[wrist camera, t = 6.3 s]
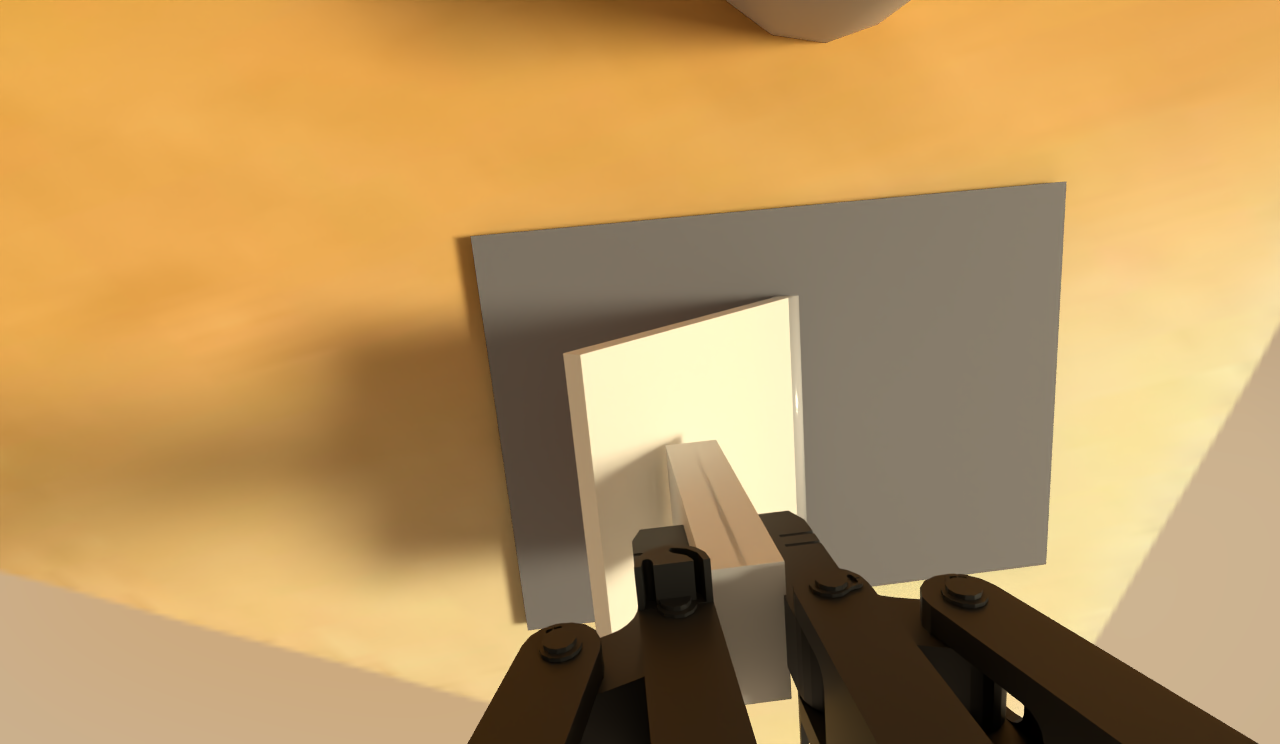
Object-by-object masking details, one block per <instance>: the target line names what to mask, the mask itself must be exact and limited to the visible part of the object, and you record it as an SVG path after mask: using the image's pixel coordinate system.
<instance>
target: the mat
mask: <svg viewBox="0 0 1280 744" xmlns="http://www.w3.org/2000/svg"><path fill="white" fill-rule="evenodd" d="M1065 198H1066V182H1056V183H1045V184H1035V185H1024V186H1013V187H1002V188H991V189H980V190H969V191H958V192H948V193H937V194H926V195H915V196H904V197H893V198H882V199H872V200H861V201H850V202H839V203H828V204H817V205H806V206H796V207H785V208H774V209H763V210H752V211H741V212H730V213H719V214H709V215H698V216H687V217H676V218H665V219H654V220H643V221H633V222H622V223H611V224H600V225H589V226H578V227H567V228H556V229H546V230H535V231H524V232H513V233H502V234H491V235H480V236H471V243H472V249H473V256H474V263H475V270H476V277H477V284H478V291H479V297H480V304H481V311H482V318H483V325H484V332H485V339H486V346H487V352H488V359H489V366H490V373H491V380H492V387H493V394H494V400H495V407H496V414H497V421H498V428H499V435H500V442H501V449H502V455H503V462H504V469H505V476H506V483H507V490H508V497H509V503H510V510H511V517H512V524H513V531H514V538H515V545H516V552H517V558H518V565H519V572H520V579H521V586H522V593H523V600H524V606H525V613H526V620H527V627H528V630H535V629H543V628H546V627H548V626H552V625H555V624H559V623H570V622H573V623H579V624H582V623H590V622H595V617H594V608H593V600H592V591H591V583H590V575H589V566H588V558H587V550H586V541H585V533H584V524H583V516H582V508H581V499H580V491H579V482H578V474H577V466H576V457H575V449H574V441H573V432H572V424H571V415H570V407H569V399H568V390H567V382H566V373H565V365H564V357H563V353H566V352H570V351H574V350H578V349H581V348H585V347H589V346H593V345H596V344H600V343H604V342H608V341H612V340H615V339H619V338H623V337H627V336H630V335H634V334H638V333H642V332H645V331H649V330H653V329H657V328H661V327H664V326H668V325H672V324H676V323H679V322H683V321H687V320H691V319H694V318H698V317H702V316H706V315H710V314H713V313H717V312H721V311H725V310H728V309H732V308H736V307H740V306H743V305H747V304H751V303H755V302H758V301H762V300H766V299H770V298H772V297H774V296H779V295H799V318H800V345H801V373H802V400H803V428H804V456H805V483H806V511H807V524H808V525H809V526H810V528H811V529H812V531H813V533H815V535H816V536H817V538H818V539H819V541H820V543H822V545H823V546H824V547H825V549H826V550H827V552H828V553H829V554H830V556H831V557H832V559H833V560H834V561H835V563H836V564H837V566H838V567H839V568H840V569H845V570H849V571H851V572H854V573H856V574H858V575H860V576H861V577H863V578H864V579H865V580H866V581H867V582H868V583H869V584H870V585H871V587H872V586H880V585H887V584H895V583H903V582H911V581H919V580H927V579H929V578H931V577H933V576H937V575H944V574H965V575H966V574H974V573H981V572H989V571H997V570H1005V569H1013V568H1021V567H1028V566H1036V565H1044V564H1046V554H1047V535H1048V517H1049V498H1050V479H1051V460H1052V442H1053V423H1054V404H1055V385H1056V367H1057V348H1058V329H1059V310H1060V292H1061V273H1062V254H1063V235H1064V217H1065Z"/></svg>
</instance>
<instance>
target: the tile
mask: <svg viewBox="0 0 1280 744" xmlns="http://www.w3.org/2000/svg"><path fill="white" fill-rule="evenodd" d="M563 357H564V365H565V373H566V382H567V390H568V399H569V407H570V415H571V424H572V432H573V441H574V449H575V457H576V466H577V474H578V482H579V491H580V499H581V508H582V516H583V524H584V533H585V541H586V550H587V558H588V566H589V575H590V583H591V591H592V600H593V608H594V617H595V625H596V632H597V633H598V635H599V637H600V638H601V637H603V636H606V635H609V634H611V633H614V632H616V631H618V630H620V629H621V628H623V627H624V626H626V625H627V624H628V623H629V622H630V621H631V620H632V619H633V618H634V616H635V615H636V613H637V609H638V603H637V594H636V584H635V575H634V558H633V548H632V541H633V539H634V538H635V536H636V535H637V533H638V532H639V530H641V529H649V528H658V527H666V526H673V522H672V511H671V500H670V489H669V478H668V468H667V457H666V446H665V445H674V444H682V443H691V442H700V441H709V440H717V442H718V444H719V446H720V447H721V449H722V451H723V453H724V455H725V456H726V458H727V460H728V462H729V463H730V465H731V467H732V469H733V471H734V472H735V474H736V476H737V478H738V479H739V481H740V483H741V485H742V487H743V488H744V490H745V492H746V494H747V495H748V497H749V499H750V501H751V503H752V504H753V506H754V508H755V510H756V512H757V513H758V514H763V513H772V512H780V511H790V512H792V513H794V514H796V515H797V516H799V517H801V518H803V519H805V521H806V522H807V511H806V483H805V456H804V428H803V400H802V373H801V345H800V318H799V295H779V296H774V297H772V298H770V299H766V300H762V301H758V302H755V303H751V304H747V305H743V306H740V307H736V308H732V309H728V310H725V311H721V312H717V313H713V314H710V315H706V316H702V317H698V318H694V319H691V320H687V321H683V322H679V323H676V324H672V325H668V326H664V327H661V328H657V329H653V330H649V331H645V332H642V333H638V334H634V335H630V336H627V337H623V338H619V339H615V340H612V341H608V342H604V343H600V344H596V345H593V346H589V347H585V348H581V349H578V350H574V351H570V352H566V353H563Z"/></svg>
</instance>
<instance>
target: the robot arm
mask: <svg viewBox="0 0 1280 744" xmlns="http://www.w3.org/2000/svg"><path fill="white" fill-rule="evenodd" d="M665 446H666V457H667V468H668V478H669V489H670V500H671V511H672V522H673V526H666V527H658V528H649V529H641V530H639V532H638V533H637V535H636V536H635V538H634V539H633V541H632V548H633V558H634V575H635V584H636V594H637V603H638V609H637V613H636V615H635V616H634V618H633V619H632V620H631V621H630V622H629V623H628V624H627V625H626V626H624V627H623V628H621V629H620V630H618V631H616V632H614V633H611V634H609V635H606V636H603V637H601V638H600V637H599V635H598V633H597V632H596V630H594V629H593V628H591V627H589V626H587V625H585V624H579V623H573V622H570V623H559V624H555V625H552V626H548V627H546V628H543V629H541V630H539V631H538V632H536V633H535V634H533V635H531V636H530V637H529V638H528V639H527V641H526V642H525V643H524V644H523V645H522V647H521V648H520V650H519V652H518V654H517V656H516V657H515V659H514V661H513V663H512V665H511V666H510V668H509V670H508V672H507V674H506V675H505V677H504V679H503V681H502V683H501V684H500V686H499V688H498V690H497V692H496V693H495V695H494V697H493V699H492V701H491V702H490V704H489V706H488V708H487V710H486V711H485V713H484V715H483V717H482V719H481V720H480V722H479V724H478V726H477V728H476V729H475V731H474V733H473V735H472V737H471V739H470V740H469V742H468V744H757V743H756V739H755V736H754V733H753V730H752V726H751V723H750V720H749V716H748V713H747V710H746V706H745V705H747V704H755V703H762V702H770V701H778V700H786V699H791V679H790V673H791V676H792V678H793V680H794V683H795V685H796V687H797V690H798V701H799V722H800V743H801V744H809V743H810V744H1258V743H1256V742H1255V741H1253V740H1251V739H1250V738H1248V737H1246V736H1245V735H1243V734H1241V733H1240V732H1238V731H1236V730H1235V729H1233V728H1231V727H1230V726H1228V725H1226V724H1225V723H1223V722H1221V721H1220V720H1218V719H1216V718H1215V717H1213V716H1211V715H1210V714H1208V713H1207V712H1205V711H1203V710H1202V709H1200V708H1198V707H1196V706H1195V705H1193V704H1192V703H1190V702H1188V701H1186V700H1185V699H1183V698H1181V697H1180V696H1178V695H1176V694H1175V693H1173V692H1171V691H1170V690H1168V689H1167V688H1165V687H1163V686H1162V685H1160V684H1158V683H1157V682H1155V681H1153V680H1152V679H1150V678H1148V677H1147V676H1145V675H1143V674H1142V673H1140V672H1138V671H1137V670H1135V669H1133V668H1132V667H1130V666H1129V665H1127V664H1125V663H1124V662H1122V661H1120V660H1119V659H1117V658H1115V657H1113V656H1112V655H1110V654H1109V653H1107V652H1105V651H1104V650H1102V649H1100V648H1099V647H1097V646H1095V645H1094V644H1092V643H1090V642H1089V641H1087V640H1085V639H1084V638H1082V637H1080V636H1079V635H1077V634H1075V633H1074V632H1072V631H1070V630H1069V629H1067V628H1065V627H1064V626H1062V625H1060V624H1059V623H1057V622H1055V621H1054V620H1052V619H1050V618H1049V617H1047V616H1045V615H1044V614H1042V613H1041V612H1039V611H1037V610H1036V609H1034V608H1032V607H1031V606H1029V605H1027V604H1026V603H1024V602H1022V601H1021V600H1019V599H1017V598H1016V597H1014V596H1012V595H1011V594H1009V593H1007V592H1006V591H1004V590H1002V589H1001V588H999V587H997V586H996V585H994V584H991V583H989V582H987V581H985V580H983V579H980V578H976V577H972V576H968V575H965V574H944V575H937V576H933V577H931V578H929V579H927V580H925V581H924V583H923V584H922V586H921V587H920V599H908V598H894V597H887V596H881V595H878V594H877V593H876V592H875V590H874V589H873V588H872V587H871V585H870V584H869V583H868V582H867V581H866V580H865V579H864V578H863V577H861V576H860V575H858V574H856V573H854V572H851V571H849V570H845V569H840V568H839V567H838V566H837V564H836V563H835V561H834V560H833V559H832V557H831V556H830V554H829V553H828V552H827V550H826V549H825V547H824V546H823V545H822V543H820V541H819V539H818V538H817V536H816V535H815V533H813V531H812V529H811V528H810V526H809V525H808V524H807V522H806V521H805V519H803V518H801V517H799V516H797V515H796V514H794V513H792V512H790V511H780V512H772V513H763V514H758V513H757V512H756V510H755V508H754V506H753V504H752V503H751V501H750V499H749V497H748V495H747V494H746V492H745V490H744V488H743V487H742V485H741V483H740V481H739V479H738V478H737V476H736V474H735V472H734V471H733V469H732V467H731V465H730V463H729V462H728V460H727V458H726V456H725V455H724V453H723V451H722V449H721V447H720V446H719V444H718V442H717V440H709V441H700V442H691V443H682V444H674V445H665ZM1007 692H1008V693H1009V694H1011V695H1012V696H1013V697H1015V698H1016V699H1017V700H1018V701H1020V702H1021V703H1022V704H1023V705H1024V716H1023V718H1022V717H1020V716H1018V715H1017V714H1015V713H1014V712H1013V711H1011V710H1010V709H1009V708H1008V707H1006V696H1007Z"/></svg>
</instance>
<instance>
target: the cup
mask: <svg viewBox="0 0 1280 744" xmlns="http://www.w3.org/2000/svg"><path fill="white" fill-rule="evenodd" d="M726 1H727V2H728V3H730V4H731V5H733V6H734V7H735V8H737V9H738V10H739V11H741V12H742V13H743V14H745V15H746V16H747V17H749V18H750V19H751V20H753V21H754V22H755V23H757V24H758V25H759V26H761V27H762V28H763V29H765V30H766V31H767V32H769V33H770V34H771V35H777V36H783V37H790V38H796V39H803V40H810V41H816V42H823V43H827V42H829V41H832V40H835V39H838V38H841V37H844V36H846V35H849V34H852V33H855V32H858V31H860V30H863V29H866V28H869V27H872V26H874V25H877V24H879V23H880V22H882V21H883V20H884V19H886V18H887V17H888V16H890V15H891V14H892V13H894V12H895V11H897V10H898V9H899V8H901V7H902V6H903V5H905V4H906V3H907V2H909V1H910V0H726Z"/></svg>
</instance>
